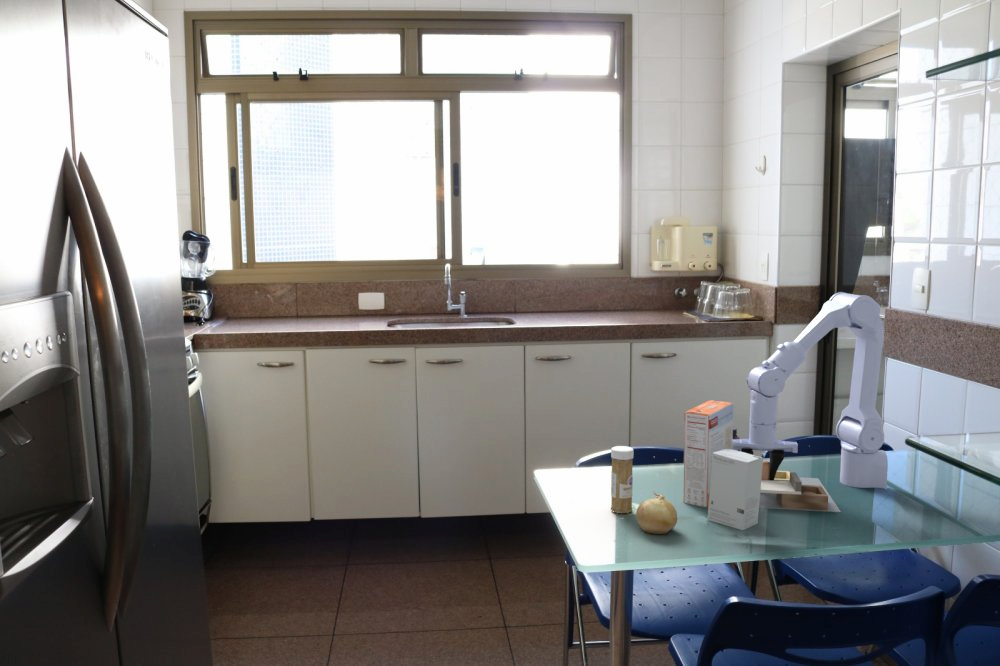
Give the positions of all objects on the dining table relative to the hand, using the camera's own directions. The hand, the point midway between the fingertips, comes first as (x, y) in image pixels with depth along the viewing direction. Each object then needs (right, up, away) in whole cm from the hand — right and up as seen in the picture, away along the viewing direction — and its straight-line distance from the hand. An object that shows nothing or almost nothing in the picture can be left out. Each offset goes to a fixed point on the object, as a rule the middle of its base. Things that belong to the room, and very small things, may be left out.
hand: (760, 482), depth 187 cm
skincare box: (-12, -6, -20) cm, 24 cm away
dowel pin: (0, -1, 0) cm, 1 cm away
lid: (+1, 0, -9) cm, 9 cm away
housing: (+5, -3, -10) cm, 11 cm away
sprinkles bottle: (-32, -4, -10) cm, 34 cm away
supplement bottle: (-4, -1, +15) cm, 15 cm away
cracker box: (-13, -4, -5) cm, 14 cm away
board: (+6, -3, -2) cm, 7 cm away
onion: (-27, -6, -21) cm, 35 cm away
